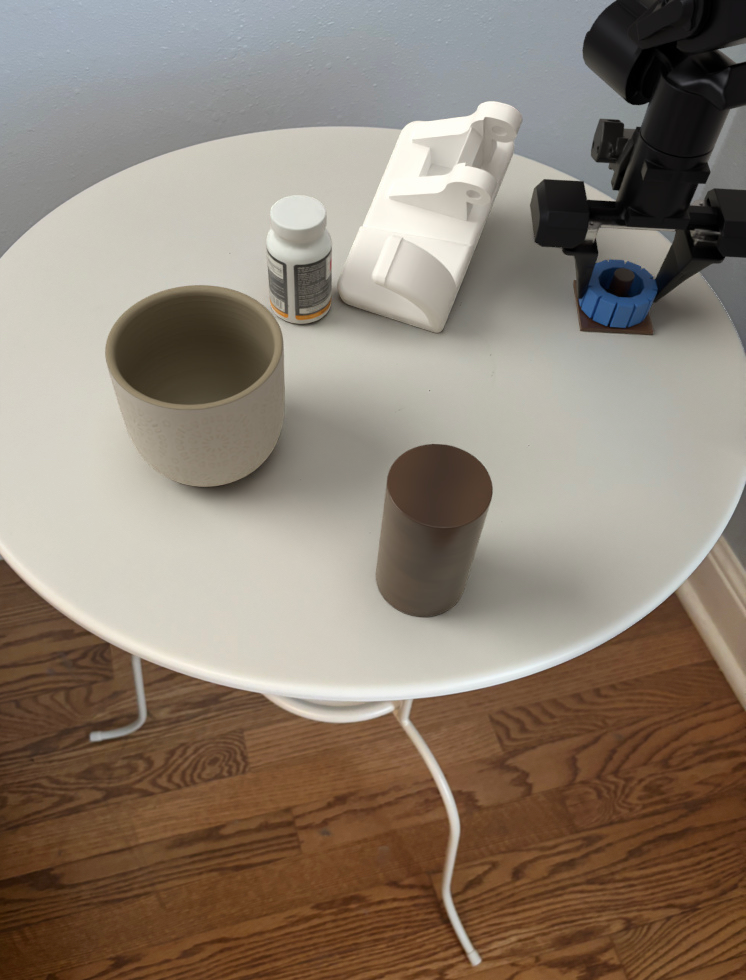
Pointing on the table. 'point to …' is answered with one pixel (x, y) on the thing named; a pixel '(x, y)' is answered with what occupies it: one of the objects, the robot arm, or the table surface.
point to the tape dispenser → (429, 216)
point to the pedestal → (431, 527)
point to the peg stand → (620, 289)
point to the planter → (199, 382)
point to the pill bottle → (299, 259)
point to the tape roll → (618, 308)
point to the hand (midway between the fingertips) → (615, 297)
